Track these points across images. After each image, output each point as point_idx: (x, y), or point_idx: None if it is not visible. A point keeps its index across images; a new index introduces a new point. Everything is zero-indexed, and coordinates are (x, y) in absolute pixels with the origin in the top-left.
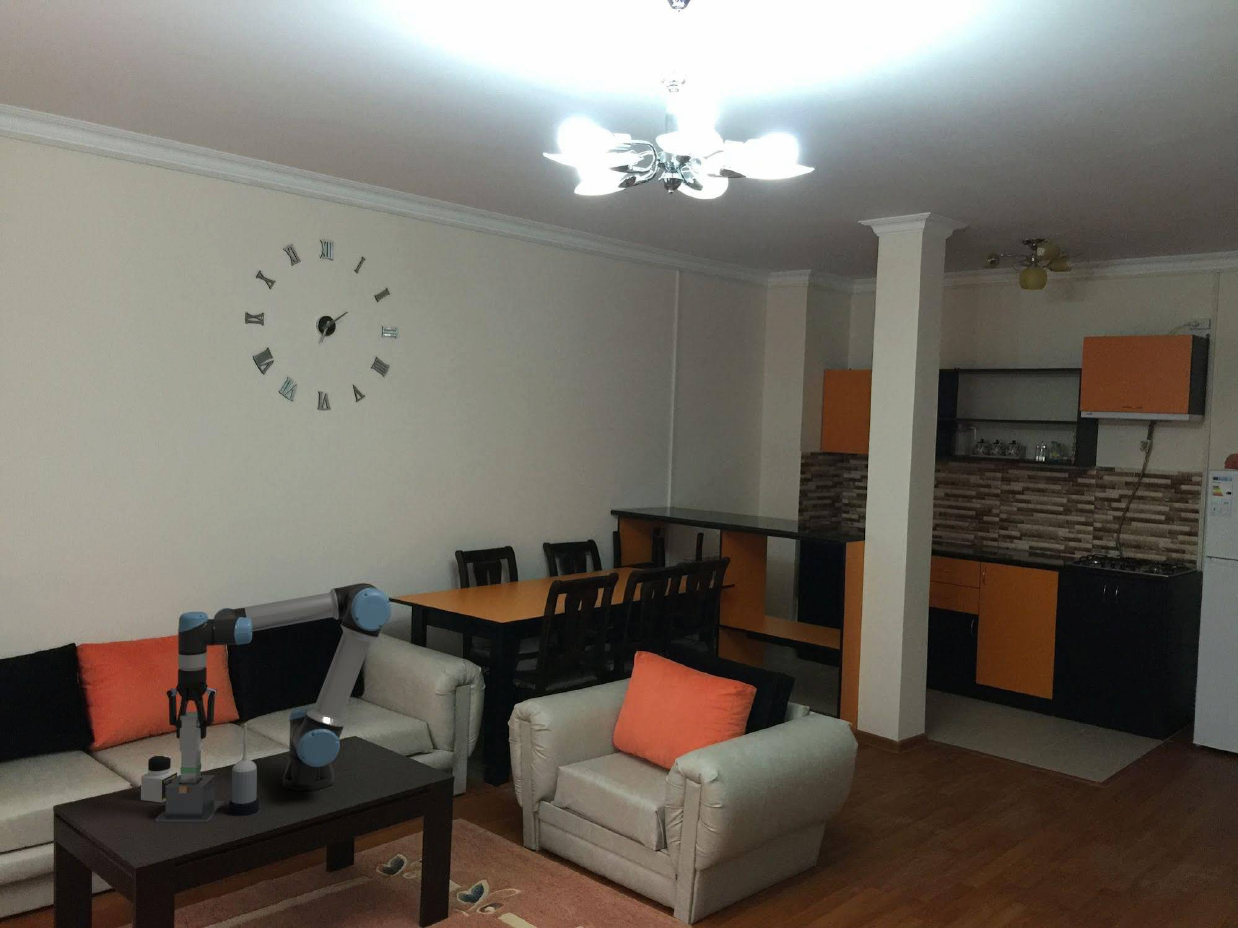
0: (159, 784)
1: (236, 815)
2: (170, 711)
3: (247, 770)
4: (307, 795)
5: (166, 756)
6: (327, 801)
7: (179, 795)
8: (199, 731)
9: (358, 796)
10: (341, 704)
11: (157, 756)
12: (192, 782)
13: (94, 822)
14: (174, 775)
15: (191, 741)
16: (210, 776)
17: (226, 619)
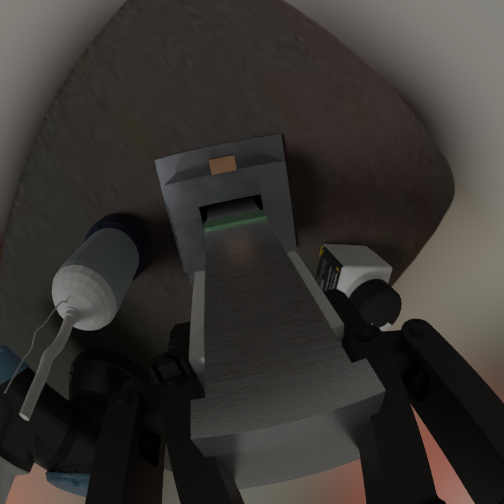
0: (344, 260)
1: (116, 214)
2: (478, 387)
3: (55, 276)
4: (70, 334)
5: None
6: (29, 315)
7: (237, 165)
8: (190, 341)
9: (14, 338)
10: None
11: (387, 319)
12: (217, 211)
13: (394, 121)
14: None
15: (233, 281)
16: None
17: None
